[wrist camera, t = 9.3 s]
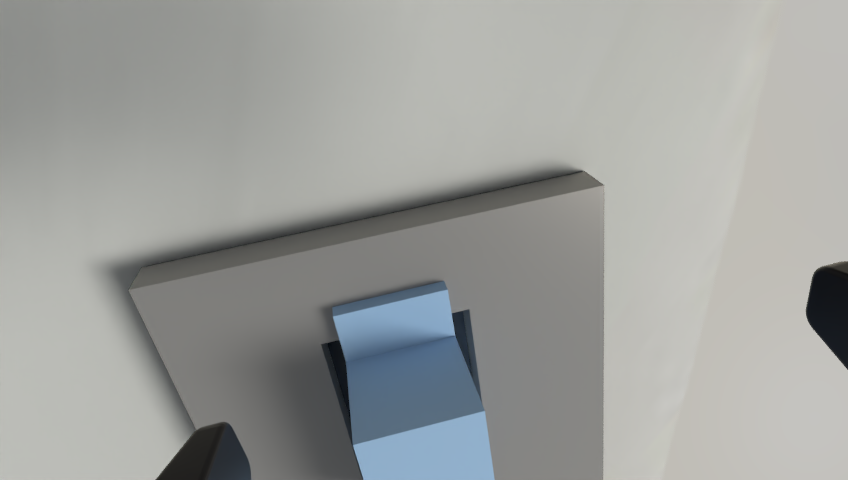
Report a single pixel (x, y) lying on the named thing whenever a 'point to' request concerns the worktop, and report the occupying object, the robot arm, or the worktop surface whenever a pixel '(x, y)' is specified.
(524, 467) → the chassis
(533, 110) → the worktop surface
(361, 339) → the servo
